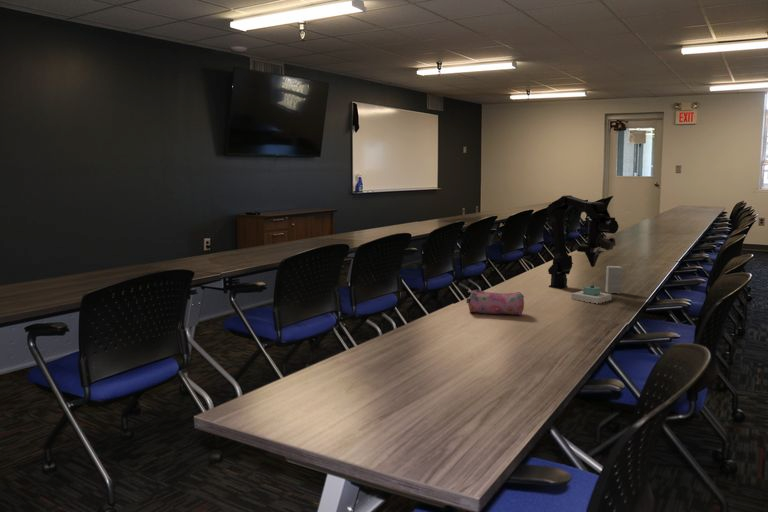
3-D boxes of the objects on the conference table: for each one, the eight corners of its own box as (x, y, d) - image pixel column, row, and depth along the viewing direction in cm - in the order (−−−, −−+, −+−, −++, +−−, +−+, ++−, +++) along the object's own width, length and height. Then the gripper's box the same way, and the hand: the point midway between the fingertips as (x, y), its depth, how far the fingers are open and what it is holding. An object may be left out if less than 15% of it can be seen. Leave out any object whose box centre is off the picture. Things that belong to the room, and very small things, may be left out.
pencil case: (465, 314, 232) (466, 291, 230) (468, 309, 240) (469, 287, 239) (523, 318, 227) (524, 295, 225) (523, 313, 235) (524, 290, 234)
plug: (582, 298, 260) (583, 285, 259) (588, 297, 263) (589, 283, 262) (593, 300, 256) (594, 286, 255) (599, 299, 260) (600, 285, 259)
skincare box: (618, 292, 276) (620, 266, 275) (621, 294, 272) (622, 267, 270) (604, 291, 277) (606, 265, 275) (607, 293, 273) (608, 267, 271)
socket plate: (571, 299, 260) (571, 293, 260) (585, 295, 268) (585, 289, 268) (597, 304, 251) (597, 298, 251) (611, 300, 259) (611, 294, 259)
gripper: (601, 234, 251) (599, 271, 253) (623, 231, 264) (620, 267, 266) (577, 232, 259) (575, 268, 261) (599, 229, 272) (596, 263, 274)
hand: (592, 266), depth 265 cm, fingers closed
